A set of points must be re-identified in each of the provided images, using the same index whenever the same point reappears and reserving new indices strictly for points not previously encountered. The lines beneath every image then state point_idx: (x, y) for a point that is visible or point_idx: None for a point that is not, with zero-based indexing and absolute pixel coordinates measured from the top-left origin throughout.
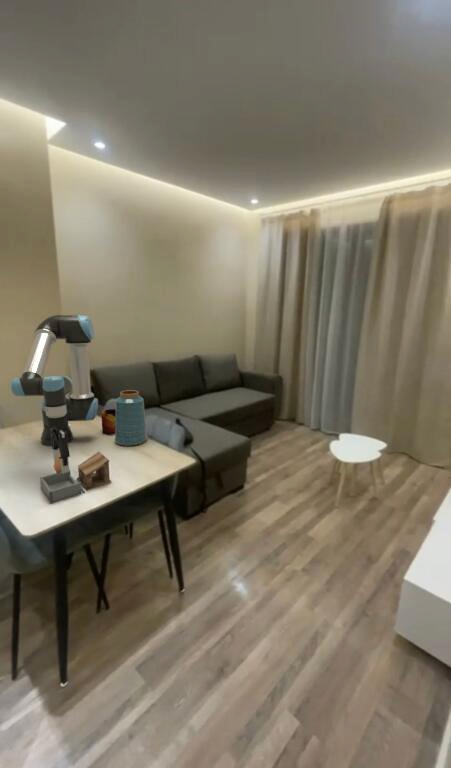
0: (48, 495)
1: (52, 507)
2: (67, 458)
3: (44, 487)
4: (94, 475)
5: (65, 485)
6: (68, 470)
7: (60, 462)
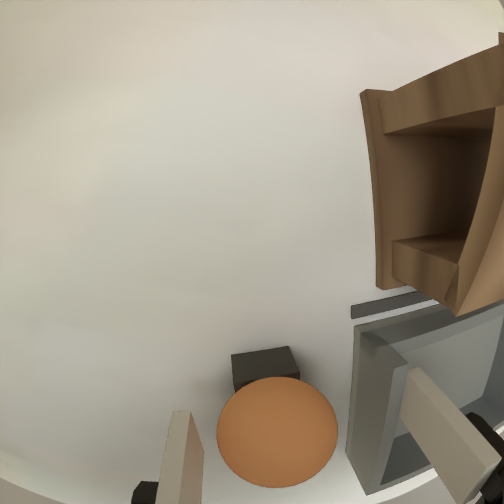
0: None
1: None
2: (488, 449)
3: None
4: (415, 160)
5: (427, 359)
6: (423, 379)
7: (320, 466)
